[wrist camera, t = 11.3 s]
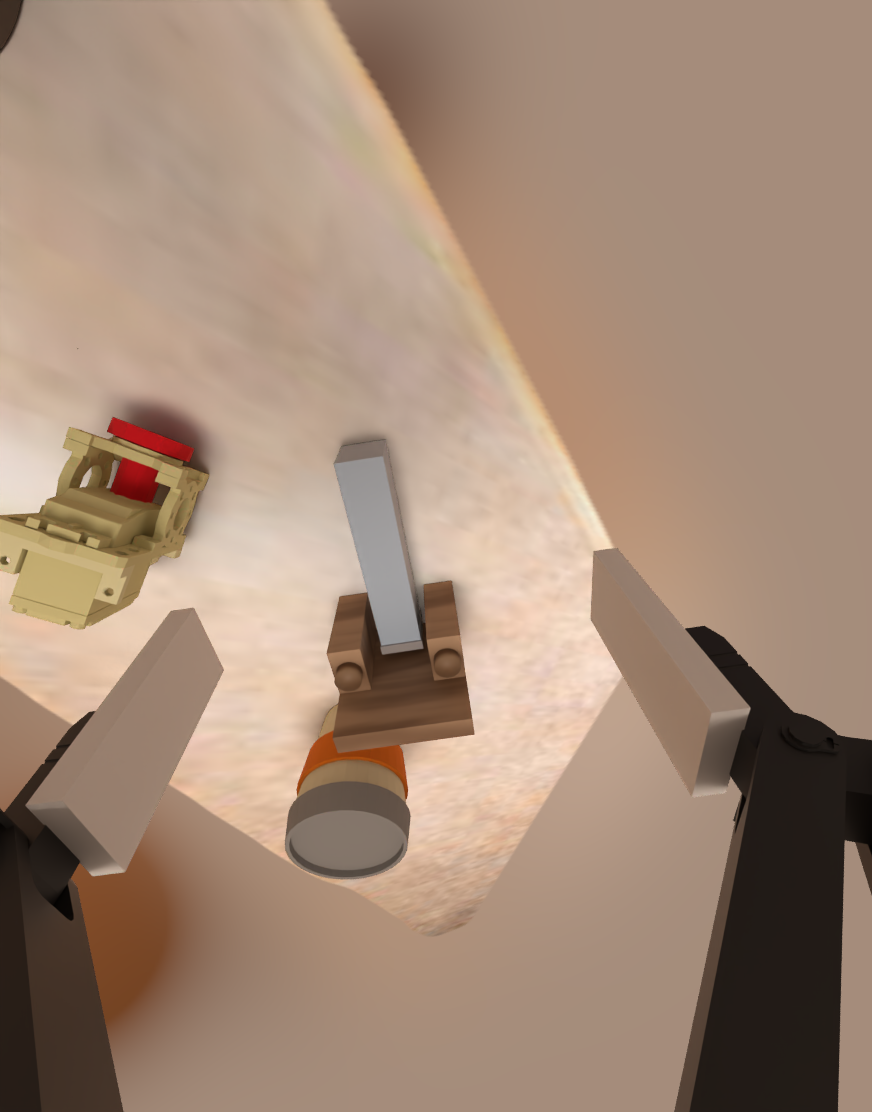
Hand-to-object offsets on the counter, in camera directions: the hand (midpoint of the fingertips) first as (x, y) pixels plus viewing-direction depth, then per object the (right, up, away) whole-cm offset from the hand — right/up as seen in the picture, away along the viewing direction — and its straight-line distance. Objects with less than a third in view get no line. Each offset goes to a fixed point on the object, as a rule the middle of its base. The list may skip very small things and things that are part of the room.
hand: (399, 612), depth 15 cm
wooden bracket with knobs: (-3, -4, +35) cm, 35 cm away
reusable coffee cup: (-8, -19, +43) cm, 48 cm away
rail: (-4, +3, +31) cm, 31 cm away
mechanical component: (-23, +10, +26) cm, 37 cm away
